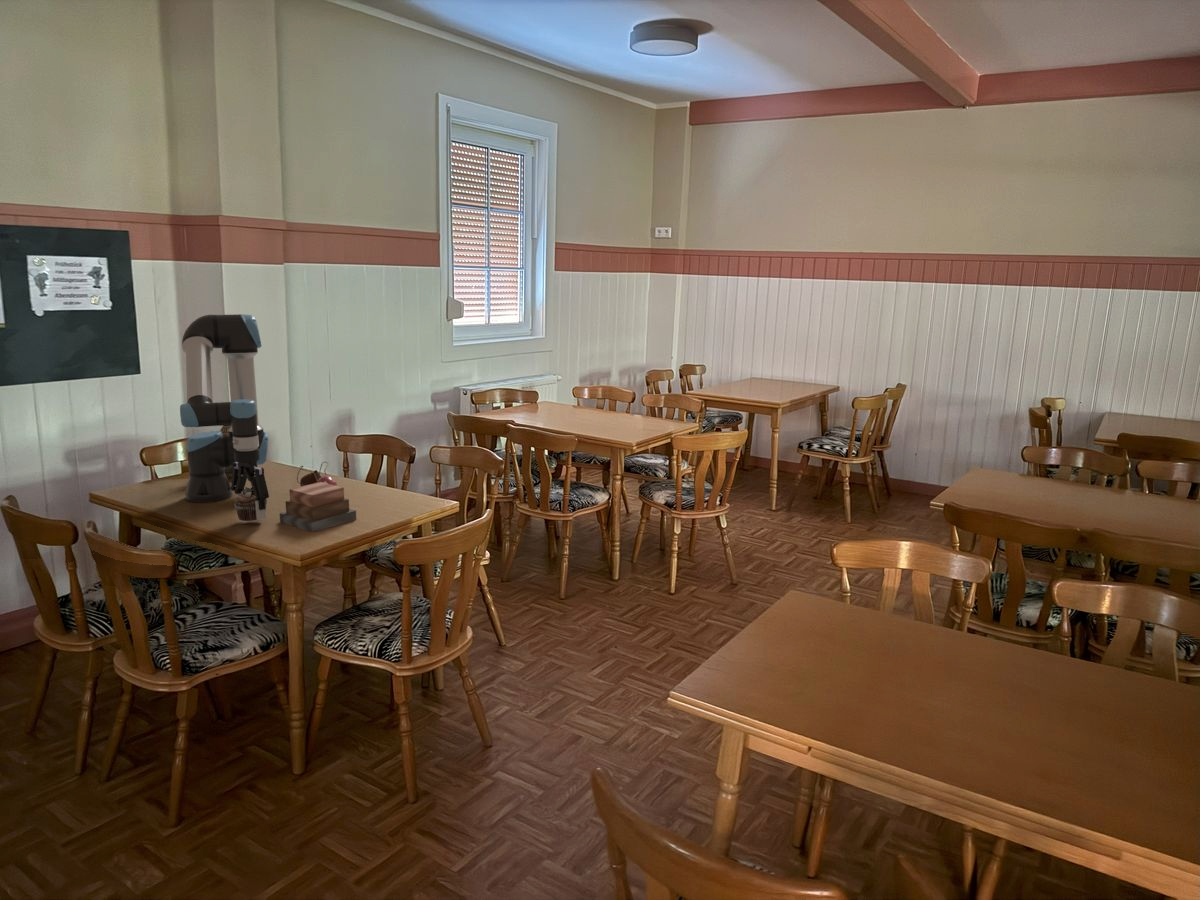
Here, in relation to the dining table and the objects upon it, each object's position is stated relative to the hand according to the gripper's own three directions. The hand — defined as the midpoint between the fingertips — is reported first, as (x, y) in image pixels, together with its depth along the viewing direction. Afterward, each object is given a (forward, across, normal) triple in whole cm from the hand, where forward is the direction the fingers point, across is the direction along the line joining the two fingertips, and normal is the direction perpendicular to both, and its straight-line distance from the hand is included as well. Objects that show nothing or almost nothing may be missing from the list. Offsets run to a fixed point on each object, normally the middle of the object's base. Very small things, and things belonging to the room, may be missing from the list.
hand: (251, 515), depth 267 cm
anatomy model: (+3, -8, +33) cm, 34 cm away
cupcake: (+1, 0, 0) cm, 1 cm away
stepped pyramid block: (+3, +14, +15) cm, 21 cm away
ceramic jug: (+4, -62, +33) cm, 70 cm away
